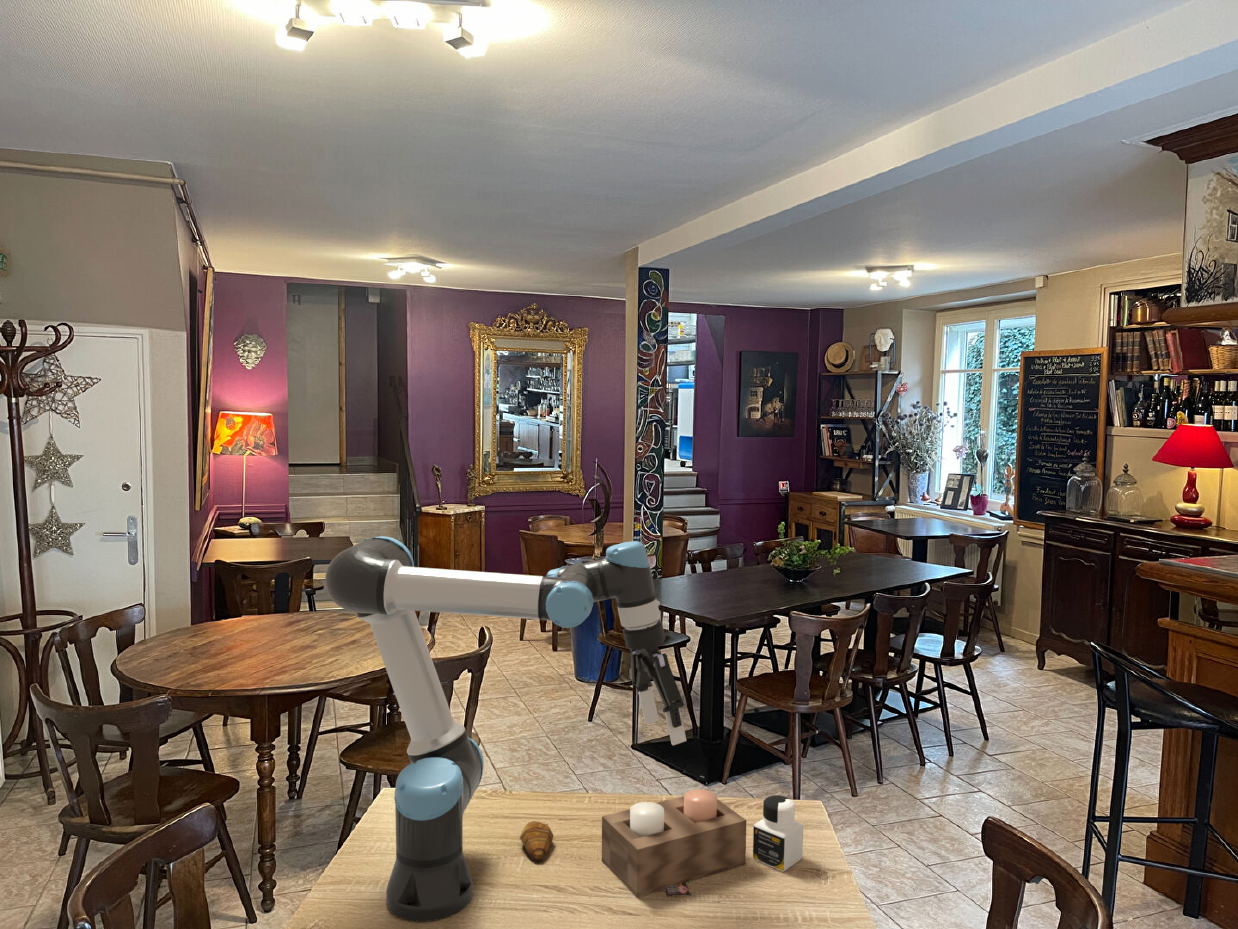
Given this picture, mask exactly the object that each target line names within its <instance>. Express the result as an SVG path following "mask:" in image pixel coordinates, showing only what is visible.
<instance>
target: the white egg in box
mask: <svg viewBox="0 0 1238 929" xmlns="http://www.w3.org/2000/svg"><path fill="white" fill-rule="evenodd" d="M657 803H658V802H651V801H640V802H637V803H634V804H633V805H631V806H630V808H629V809H630V829H631V830H632V831H633V832H634V833H635V834H637V835H638V836H639V837H644V836H648V835H652V834H656V833H659V832H663V831H664V808H663V807H662V806H661V805H659V804H657Z"/></svg>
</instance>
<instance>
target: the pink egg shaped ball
mask: <svg viewBox="0 0 1238 929" xmlns="http://www.w3.org/2000/svg"><path fill="white" fill-rule="evenodd" d="M683 796H684V815H685V816H687V817H688V818H689V819H690V820H692V821H693V822H694V823H697V822H701V821H705V820H709V819H713V818H716V817H717V799H718V796H717V794H715V793H714V792H712V791H710V790H708V789H703V788H702V789H701V788H696V789H690V790H688V791H686V792H685V793H684V795H683Z"/></svg>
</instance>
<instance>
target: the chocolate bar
mask: <svg viewBox="0 0 1238 929" xmlns="http://www.w3.org/2000/svg"><path fill="white" fill-rule="evenodd" d="M664 891H665V894H666V898H668V897H669V898H670V897H678V896H692V892H690V890H689V888H688V885H687V883H684V882H683V883H679V884H676V885H673V886H669V887H667V888H666V889H664Z"/></svg>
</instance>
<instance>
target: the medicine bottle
mask: <svg viewBox="0 0 1238 929" xmlns="http://www.w3.org/2000/svg"><path fill="white" fill-rule="evenodd" d="M795 806H796V804H795V802H794V800H792V799H791V798H789V797H787V796H784V795H779V794H777V795H776V794H775V795H769V796H767V797H766V798H765V799H763V808H762V819H760V820H759V821H757V822H755V823H754V824H753V830H752V831H753V834H752V835H753V836H752V839H753V840H752V859H753V860H755V861H756V862H759V863H761V864H764V865H766V866H769V867H771V868H773V869H775V870H777V871H780V872H782V873H784V872H785V871H787V870H788V869H790V868H791V867H793V866H794V865H795V864H797V863H798V862H799V861H800V860H802V859H803V858H804V857H803V856H804V849H803V848H804V823H802V822H799V821H797V820H795V815H796V814H795V811H796V807H795Z"/></svg>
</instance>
